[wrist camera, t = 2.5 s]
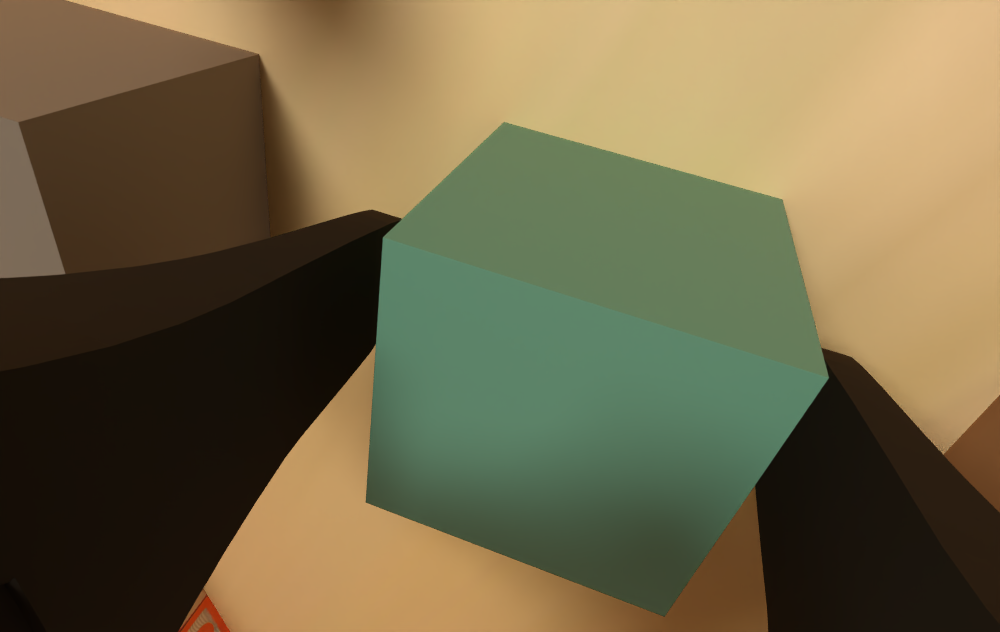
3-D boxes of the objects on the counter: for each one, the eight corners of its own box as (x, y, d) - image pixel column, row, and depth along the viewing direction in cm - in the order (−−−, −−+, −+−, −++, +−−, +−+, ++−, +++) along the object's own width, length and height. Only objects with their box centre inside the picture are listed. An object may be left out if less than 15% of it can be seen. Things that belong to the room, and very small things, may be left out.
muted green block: (781, 198, 10) (829, 378, 6) (678, 403, 13) (664, 616, 9) (504, 120, 11) (383, 237, 7) (466, 333, 14) (365, 502, 10)
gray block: (261, 53, 11) (18, 121, 7) (274, 269, 14) (106, 403, 10) (44, -8, 12) (-286, 26, 8) (99, 212, 15) (-123, 315, 11)
